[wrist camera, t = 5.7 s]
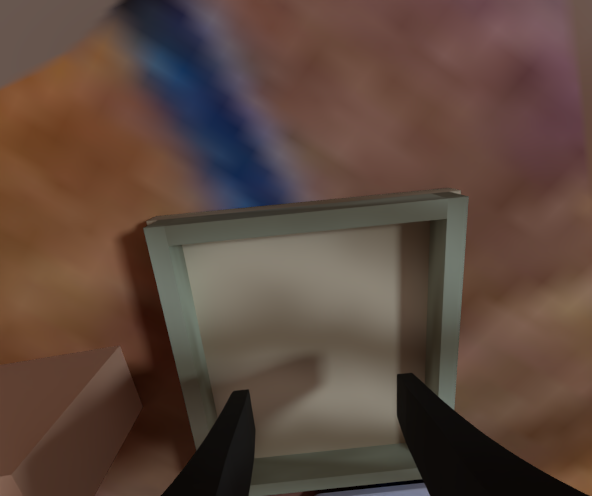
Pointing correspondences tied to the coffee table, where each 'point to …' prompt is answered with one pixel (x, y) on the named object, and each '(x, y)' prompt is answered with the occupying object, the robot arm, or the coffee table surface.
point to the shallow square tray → (315, 325)
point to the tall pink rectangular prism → (64, 421)
